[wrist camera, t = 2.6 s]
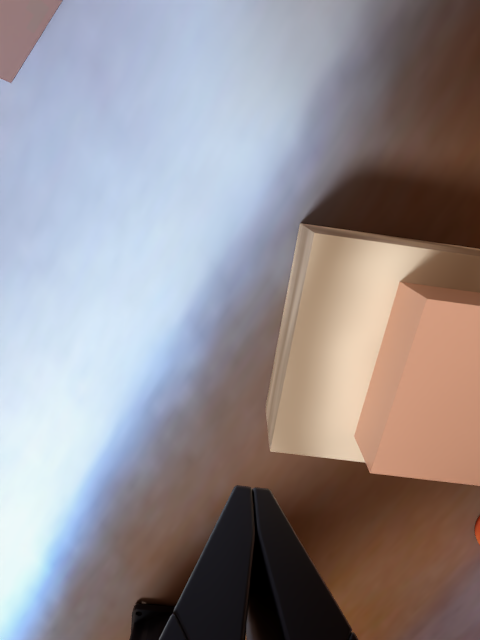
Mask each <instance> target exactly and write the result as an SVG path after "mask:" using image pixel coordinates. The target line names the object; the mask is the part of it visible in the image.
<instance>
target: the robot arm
mask: <svg viewBox="0 0 480 640" xmlns="http://www.w3.org/2000/svg"><path fill="white" fill-rule="evenodd" d="M351 631H352V628H351V626H350V625H349V623H348V621H347V620H346V618H345V616H344V615H343V613H342V611H341V609H340V608H339V606H338V604H337V603H336V601H335V599H334V598H333V596H332V594H331V592H330V591H329V589H328V587H327V586H326V584H325V582H324V581H323V579H322V577H321V575H320V574H319V572H318V570H317V569H316V567H315V565H314V564H313V562H312V560H311V559H310V557H309V555H308V553H307V552H306V550H305V548H304V547H303V545H302V543H301V542H300V540H299V538H298V536H297V535H296V533H295V531H294V530H293V528H292V526H291V525H290V523H289V521H288V519H287V518H286V516H285V514H284V513H283V511H282V509H281V508H280V506H279V504H278V503H277V501H276V499H275V497H274V496H273V494H272V492H271V491H270V490H269V489H265V488H253V489H252V488H251V487H247V486H238V485H237V486H235V487H234V489H233V491H232V493H231V495H230V497H229V499H228V501H227V503H226V505H225V507H224V509H223V511H222V513H221V515H220V517H219V519H218V521H217V523H216V525H215V527H214V529H213V531H212V533H211V535H210V538H209V540H208V542H207V544H206V546H205V548H204V550H203V552H202V554H201V556H200V558H199V560H198V562H197V564H196V566H195V568H194V570H193V572H192V574H191V576H190V578H189V580H188V582H187V584H186V586H185V588H184V590H183V592H182V594H181V596H180V598H179V600H178V603H177V605H176V607H168V606H158V605H148V604H136V605H135V606H134V608H133V612H132V627H131V636H130V640H245V635H246V636H247V640H358V638H357V636H356V635H355V633H354V632H352V633H351Z"/></svg>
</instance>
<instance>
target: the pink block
mask: <svg viewBox="0 0 480 640" xmlns="http://www.w3.org/2000/svg"><path fill="white" fill-rule="evenodd" d="M354 437H355V440H356V442H357V444H358V447H359V449H360V451H361V453H362V456H363V458H364V460H365V462H366V465H367V467H368V469H369V472H370V473H374V474H382V475H391V476H400V477H408V478H417V479H425V480H434V481H442V482H451V483H459V484H468V485H476V486H480V293H478V292H470V291H463V290H456V289H449V288H442V287H434V286H427V285H420V284H413V283H405V282H399V285H398V289H397V292H396V296H395V299H394V302H393V306H392V309H391V313H390V316H389V319H388V323H387V326H386V329H385V333H384V336H383V340H382V343H381V346H380V350H379V353H378V357H377V360H376V363H375V367H374V370H373V374H372V377H371V380H370V384H369V387H368V391H367V394H366V397H365V401H364V404H363V408H362V411H361V414H360V418H359V421H358V424H357V428H356V431H355V435H354Z"/></svg>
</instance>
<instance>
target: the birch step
mask: <svg viewBox="0 0 480 640" xmlns="http://www.w3.org/2000/svg"><path fill="white" fill-rule="evenodd" d="M399 282H405V283H413V284H420V285H427V286H434V287H442V288H449V289H456V290H463V291H470V292H478V293H480V249H477V248H470V247H463V246H456V245H449V244H442V243H435V242H428V241H421V240H414V239H408V238H401V237H394V236H387V235H380V234H373V233H366V232H359V231H352V230H345V229H338V228H331V227H324V226H317V225H310V224H303V223H300V226H299V232H298V237H297V242H296V248H295V253H294V258H293V264H292V269H291V274H290V279H289V285H288V290H287V295H286V301H285V306H284V311H283V317H282V322H281V327H280V333H279V338H278V343H277V348H276V354H275V359H274V364H273V370H272V375H271V380H270V386H269V391H268V396H267V402H266V417H267V427H268V437H269V447H270V451H272V452H281V453H289V454H298V455H306V456H315V457H323V458H331V459H340V460H348V461H357V462H365V460H364V458H363V456H362V453H361V451H360V449H359V447H358V444H357V442H356V440H355V437H354V435H355V431H356V428H357V424H358V421H359V418H360V414H361V411H362V408H363V404H364V401H365V397H366V394H367V391H368V387H369V384H370V380H371V377H372V374H373V370H374V367H375V363H376V360H377V357H378V353H379V350H380V346H381V343H382V340H383V336H384V333H385V329H386V326H387V323H388V319H389V316H390V313H391V309H392V306H393V302H394V299H395V296H396V292H397V289H398V285H399ZM365 463H366V462H365Z"/></svg>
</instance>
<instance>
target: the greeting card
mask: <svg viewBox="0 0 480 640" xmlns="http://www.w3.org/2000/svg"><path fill="white" fill-rule="evenodd" d="M61 2H62V0H0V78H1V79H3V80H5V81H8V82H10V83H11V82H12V81H13V79H14V78H15V76H16V74H17V73H18V71H19V70H20V68H21V66H22V65H23V63H24V62H25V60H26V58H27V57H28V55H29V53H30V52H31V50H32V49H33V47H34V45H35V44H36V42H37V41H38V39H39V37H40V36H41V34H42V33H43V31H44V29H45V28H46V26H47V24H48V23H49V21H50V20H51V18H52V16H53V15H54V13H55V12H56V10H57V8H58V7H59V5H60V4H61Z"/></svg>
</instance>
